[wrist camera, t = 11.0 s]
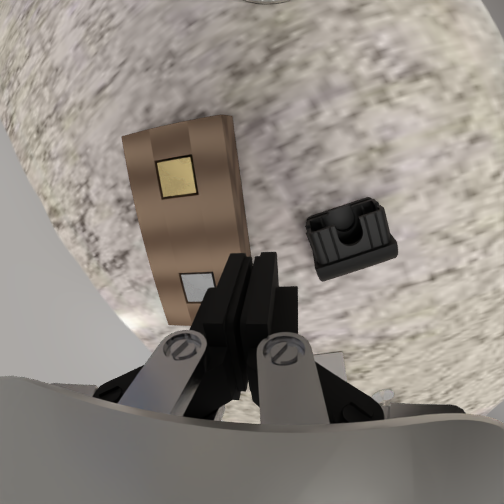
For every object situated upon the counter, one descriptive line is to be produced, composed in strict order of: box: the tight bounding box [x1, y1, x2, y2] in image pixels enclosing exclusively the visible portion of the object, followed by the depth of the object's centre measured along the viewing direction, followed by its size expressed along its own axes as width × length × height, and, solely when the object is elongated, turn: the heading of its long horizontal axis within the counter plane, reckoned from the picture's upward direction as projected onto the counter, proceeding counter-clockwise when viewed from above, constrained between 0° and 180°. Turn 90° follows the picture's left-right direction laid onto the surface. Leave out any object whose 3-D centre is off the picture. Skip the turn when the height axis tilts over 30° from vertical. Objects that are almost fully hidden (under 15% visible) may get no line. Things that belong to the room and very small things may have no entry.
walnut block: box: [122, 115, 251, 326], centre depth 36 cm, size 26×12×6 cm, turn 7°
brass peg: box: [157, 154, 198, 197], centre depth 34 cm, size 4×4×6 cm
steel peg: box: [181, 272, 216, 302], centre depth 39 cm, size 4×4×6 cm
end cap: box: [305, 197, 398, 282], centre depth 34 cm, size 10×7×7 cm
